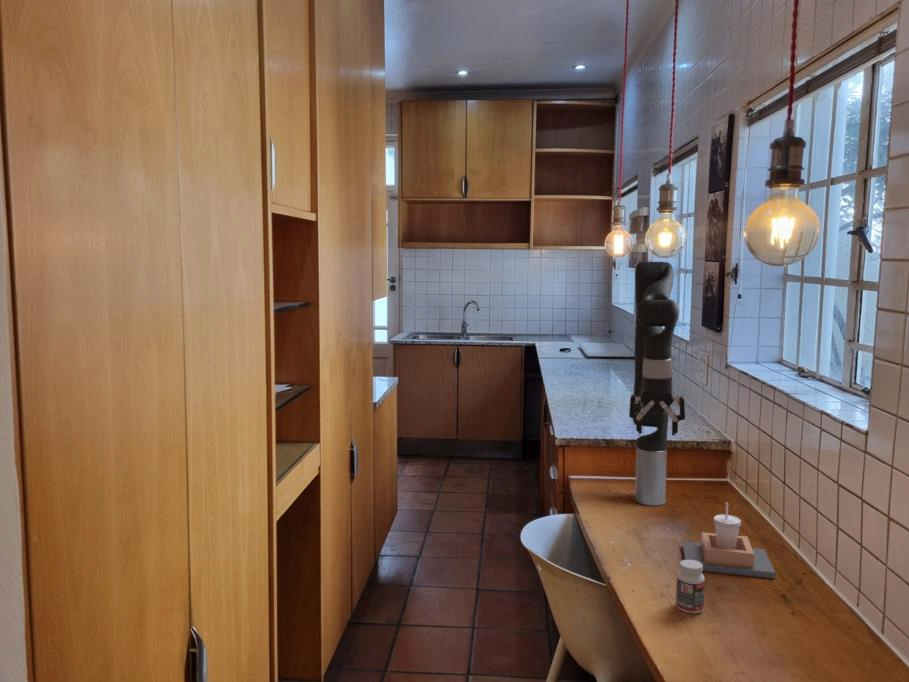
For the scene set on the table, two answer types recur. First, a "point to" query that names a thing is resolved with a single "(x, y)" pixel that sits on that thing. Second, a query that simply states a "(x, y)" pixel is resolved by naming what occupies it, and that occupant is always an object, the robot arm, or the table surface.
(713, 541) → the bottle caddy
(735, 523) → the smoothie
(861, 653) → the table surface
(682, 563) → the pill bottle
